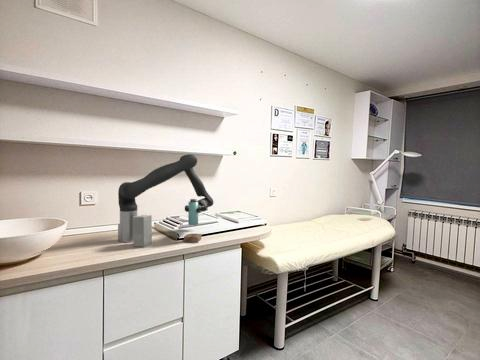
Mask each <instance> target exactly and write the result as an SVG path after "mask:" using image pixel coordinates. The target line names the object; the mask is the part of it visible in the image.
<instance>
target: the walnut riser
mask: <svg viewBox="0 0 480 360" xmlns="http://www.w3.org/2000/svg"><path fill="white" fill-rule="evenodd" d="M201 240H202V233H190V234H188V233H187V234H185V235H184V237H183V242H184V243H193V244H194V243H196V244H197V243H199V242H200V241H201Z"/></svg>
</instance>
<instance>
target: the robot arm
mask: <svg viewBox="0 0 480 360" xmlns="http://www.w3.org/2000/svg"><path fill="white" fill-rule="evenodd" d="M197 164H198V158H197V157H196V155H194V154H191V153H190V154H184V155H182V156H181V157H180V158H179V160H177V161H175V162H171V163H168V164H165V165H161V166H160V167H156V168H155V169H153V170H152V171H150V172H149V173H148V174H146V176H144V177H143V178H140V179H137V180H135V181H131V182H129V181H127V182H126V181H125V182H122V183H121V184H120V185H119V187H118V190H117V191H118V194H117V196H118V199H117V201H118V207H119V223H118V224H117V242H121V243H134V239H133V217H136V216H138V204H137V202H136V198H137V197H138V196H140V195H142V194H143V193H145V192H147V191H148V190H149V189H152V188H154V187H156V186H158V185H161V184H162V183H165V182H167V181H168V180H171V179H172V178H174V177H175V176H178V175H179V174H181V173H182V172H184V173H185V175H186V177H187V178H188V180H189V181H190V183H191V185H192V187H193V190H194V192H195V194H196V196H197V197H199V198H200V197H202V198H200V199H198V200H197V202H198V208H197V212H198V214H200V213H203V212H206V211H208V208H210V207H212V206H213V205H214V200H213V198H212V196H211V195H210V194H209V193H208V191H207V190H206V187H205V185H204V182H203V181H202V180H201V179H200V177H199V176H198V175H197V173H196V172H195V170H194V167H196V165H197ZM203 197H204V198H203ZM184 211H185V212H186V213H188V205H187V204H186V205H185V206H184Z"/></svg>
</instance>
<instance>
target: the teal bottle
mask: <svg viewBox="0 0 480 360" xmlns="http://www.w3.org/2000/svg"><path fill="white" fill-rule="evenodd" d="M197 201H198V200H197V199H196V198H190V199H189V201H188V203H187V204H188V212H187V213H188V214H187V217H188V220H187V223H188V225H189V226H197V225H199V213H198V212H197V208H198V202H197Z"/></svg>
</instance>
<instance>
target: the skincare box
mask: <svg viewBox="0 0 480 360" xmlns="http://www.w3.org/2000/svg"><path fill="white" fill-rule="evenodd" d="M152 218H153V216H152V215H151V214H150V215H147V214H145V215H144V214H141V215H137V216H136V217H133V239H134V241H133V247H139V248H145V247H147V246H149V245H151V244H153V233H152V232H153V229H152V228H153V227H152V226H153V225H152V224H153V223H152V222H153V221H152V220H153V219H152Z"/></svg>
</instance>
